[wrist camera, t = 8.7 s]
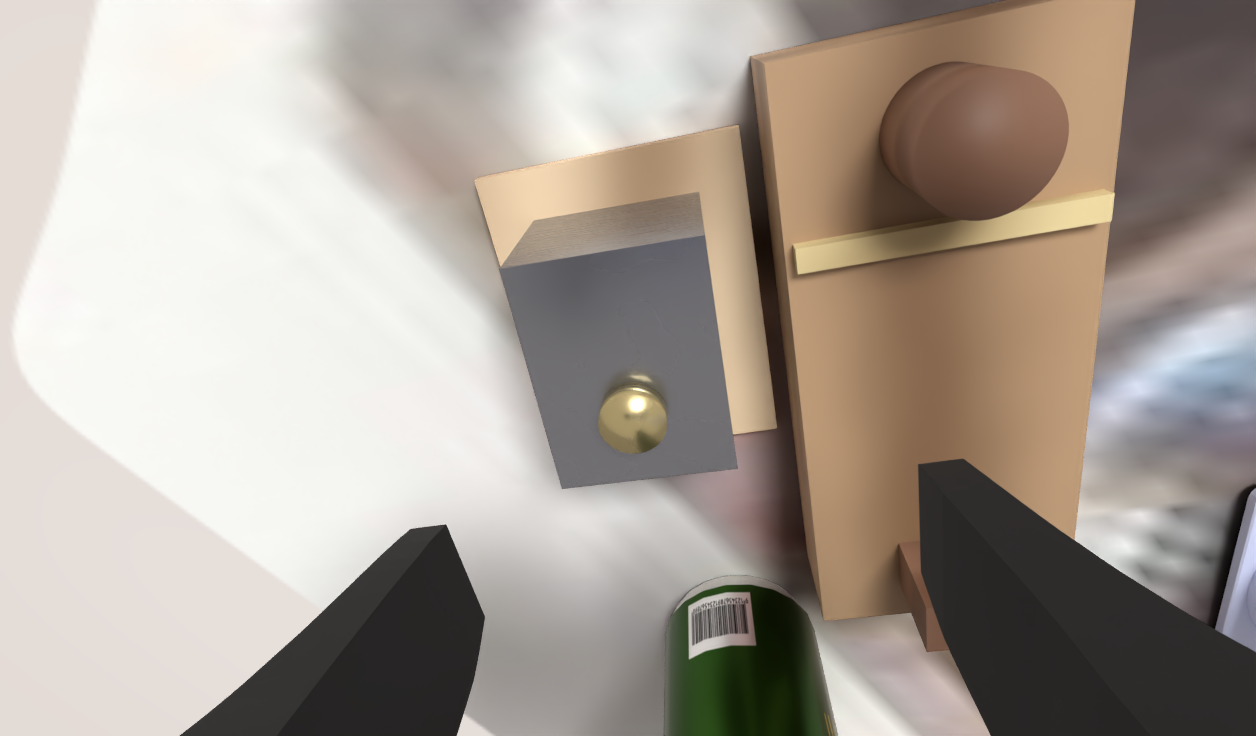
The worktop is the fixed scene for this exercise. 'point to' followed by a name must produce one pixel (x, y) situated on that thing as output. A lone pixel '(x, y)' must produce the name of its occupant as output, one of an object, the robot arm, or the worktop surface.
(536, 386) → the grey block with knob
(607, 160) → the cork trivet
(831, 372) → the body
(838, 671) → the worktop surface
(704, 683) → the beer can
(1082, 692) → the robot arm
